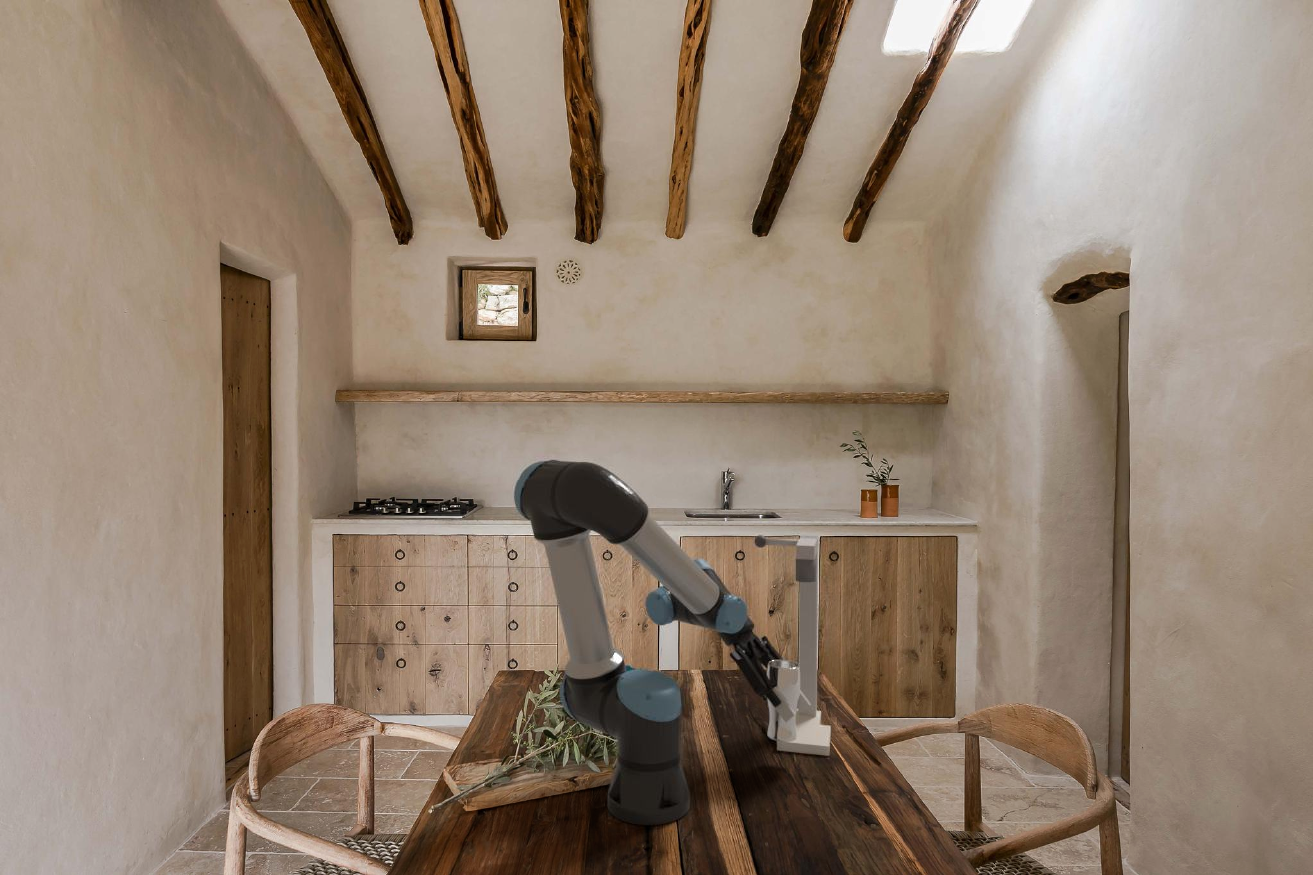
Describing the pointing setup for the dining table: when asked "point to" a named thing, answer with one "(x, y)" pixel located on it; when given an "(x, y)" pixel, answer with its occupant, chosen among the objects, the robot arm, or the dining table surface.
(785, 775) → the dining table surface
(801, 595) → the stand
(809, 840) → the dining table surface
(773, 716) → the beer glass
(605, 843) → the dining table surface
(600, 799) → the dining table surface
